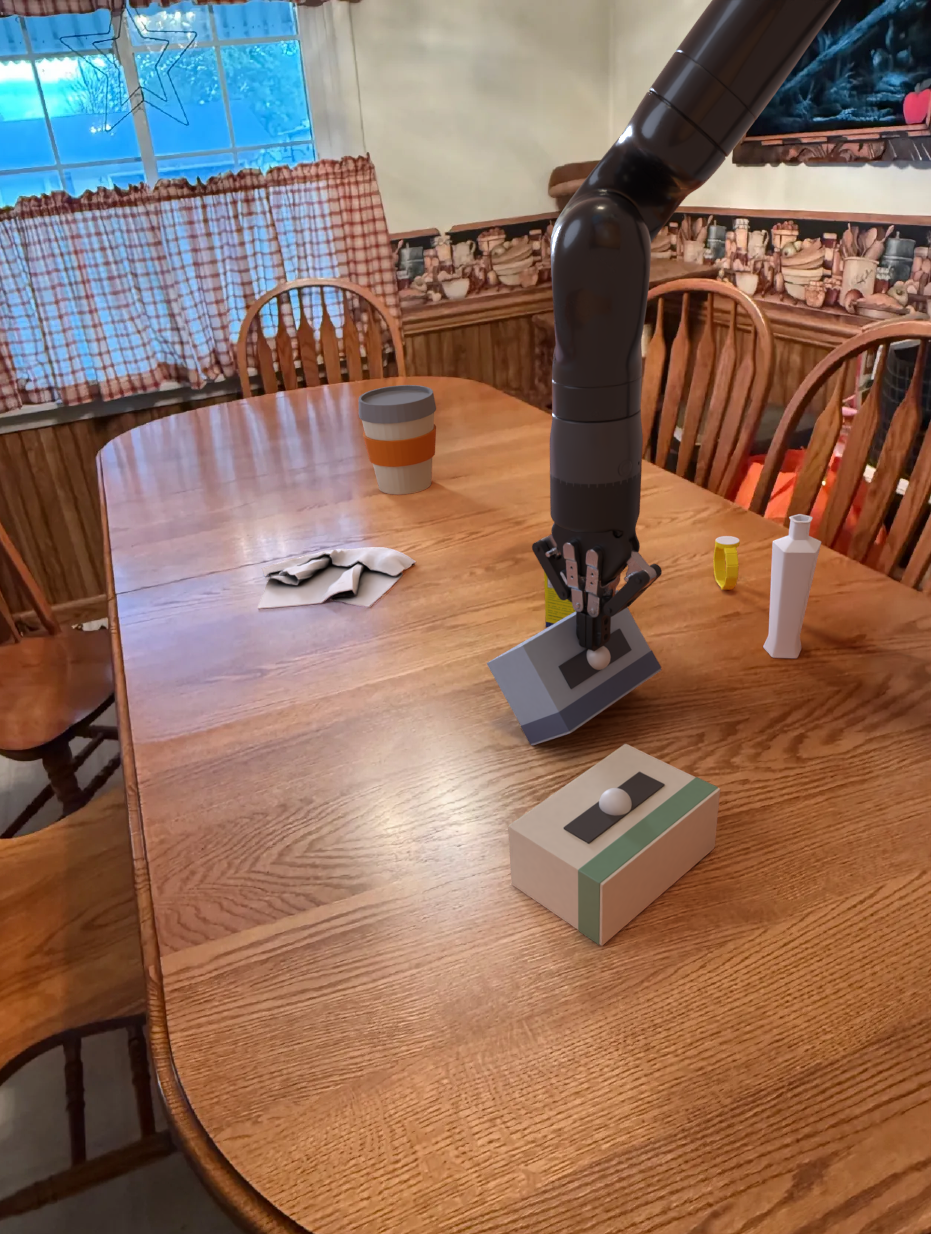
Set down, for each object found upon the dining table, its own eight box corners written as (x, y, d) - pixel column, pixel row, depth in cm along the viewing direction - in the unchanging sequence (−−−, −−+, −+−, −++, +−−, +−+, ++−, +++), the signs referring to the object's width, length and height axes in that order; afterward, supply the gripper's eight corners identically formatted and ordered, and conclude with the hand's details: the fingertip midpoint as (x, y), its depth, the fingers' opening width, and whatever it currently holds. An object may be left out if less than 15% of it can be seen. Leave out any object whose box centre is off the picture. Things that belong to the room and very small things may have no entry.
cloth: (435, 559, 124) (434, 543, 122) (338, 629, 109) (335, 611, 107) (321, 538, 134) (319, 522, 133) (218, 599, 119) (214, 582, 118)
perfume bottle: (751, 651, 96) (766, 520, 88) (773, 636, 98) (790, 506, 91) (791, 666, 93) (810, 531, 85) (812, 649, 95) (834, 517, 88)
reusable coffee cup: (416, 502, 143) (407, 408, 136) (353, 493, 149) (341, 402, 142) (455, 476, 152) (449, 386, 144) (394, 469, 158) (384, 382, 150)
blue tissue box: (621, 684, 93) (579, 608, 93) (673, 665, 87) (628, 584, 87) (530, 746, 85) (485, 663, 85) (580, 730, 79) (531, 640, 79)
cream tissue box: (715, 848, 71) (624, 799, 78) (722, 773, 68) (626, 728, 74) (601, 947, 64) (510, 885, 70) (602, 869, 60) (506, 810, 66)
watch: (742, 595, 107) (747, 549, 104) (718, 597, 107) (722, 551, 104) (728, 574, 112) (732, 529, 109) (706, 575, 112) (709, 531, 109)
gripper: (690, 466, 72) (677, 652, 81) (562, 439, 81) (563, 610, 90) (634, 494, 68) (627, 686, 77) (505, 463, 77) (512, 639, 86)
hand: (592, 645), depth 83 cm, fingers closed
